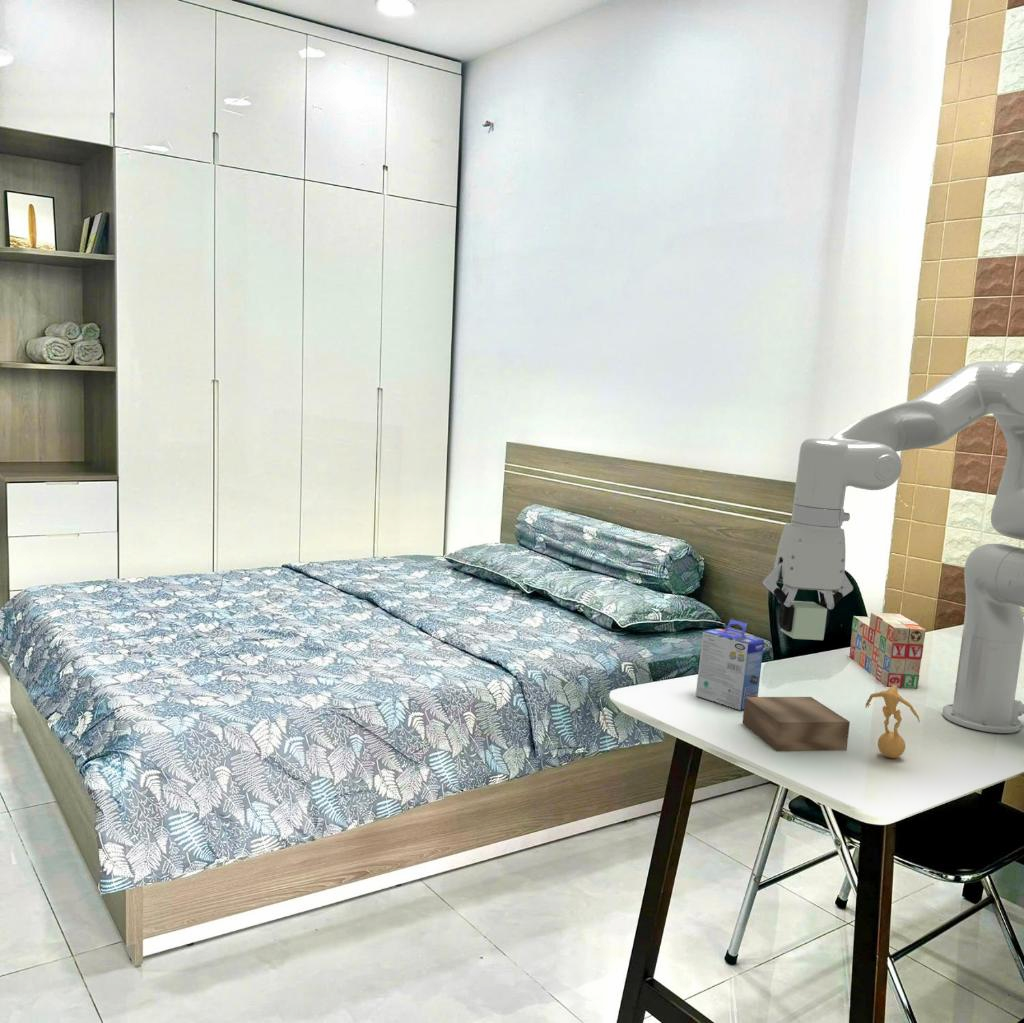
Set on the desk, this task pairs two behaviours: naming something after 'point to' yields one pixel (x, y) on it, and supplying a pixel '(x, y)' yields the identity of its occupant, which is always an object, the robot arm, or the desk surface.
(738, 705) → the ink cartridge box
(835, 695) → the desk surface
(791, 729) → the walnut block
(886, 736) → the figurine
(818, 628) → the sage cube
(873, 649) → the stack of blocks
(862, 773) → the desk surface
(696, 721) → the desk surface
